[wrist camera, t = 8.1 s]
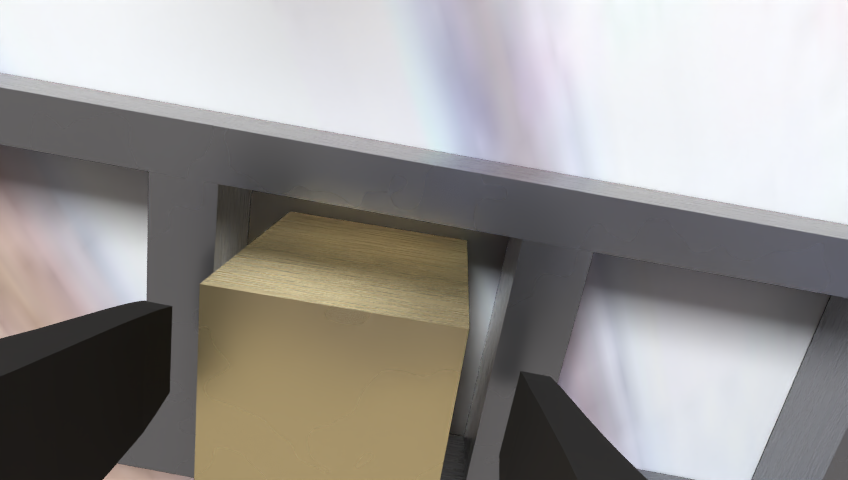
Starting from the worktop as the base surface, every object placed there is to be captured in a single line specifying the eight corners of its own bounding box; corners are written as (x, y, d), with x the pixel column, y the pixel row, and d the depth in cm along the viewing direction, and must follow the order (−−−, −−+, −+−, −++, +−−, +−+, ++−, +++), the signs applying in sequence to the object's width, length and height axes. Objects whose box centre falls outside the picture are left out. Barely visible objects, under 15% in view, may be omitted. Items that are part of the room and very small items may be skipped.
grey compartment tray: (902, 234, 13) (980, 263, 11) (768, 529, 15) (810, 594, 14) (-109, 53, 13) (-206, 50, 11) (-70, 372, 16) (-143, 414, 14)
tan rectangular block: (467, 239, 14) (469, 329, 9) (439, 393, 15) (427, 543, 10) (290, 210, 14) (199, 283, 9) (278, 366, 15) (193, 501, 10)
